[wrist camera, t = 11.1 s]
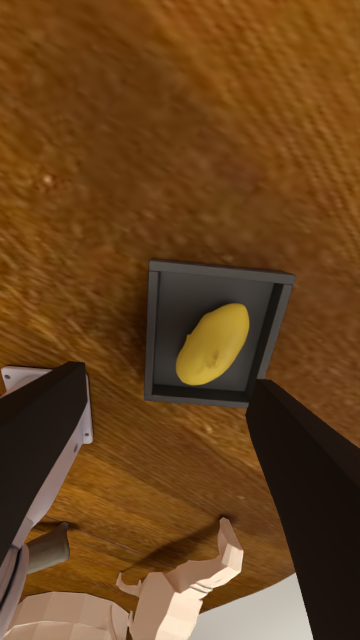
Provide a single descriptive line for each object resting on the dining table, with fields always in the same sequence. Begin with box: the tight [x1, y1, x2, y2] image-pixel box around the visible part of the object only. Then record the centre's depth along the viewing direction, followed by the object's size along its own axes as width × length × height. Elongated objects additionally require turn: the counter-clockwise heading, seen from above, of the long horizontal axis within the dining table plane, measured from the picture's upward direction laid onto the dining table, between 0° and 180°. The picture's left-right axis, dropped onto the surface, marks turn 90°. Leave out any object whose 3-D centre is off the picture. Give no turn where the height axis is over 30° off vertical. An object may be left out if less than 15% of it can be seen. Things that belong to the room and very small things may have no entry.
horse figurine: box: [105, 517, 243, 640], centre depth 28 cm, size 5×16×25 cm
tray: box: [144, 258, 296, 408], centre depth 17 cm, size 12×10×2 cm
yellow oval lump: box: [176, 303, 249, 385], centre depth 15 cm, size 4×8×4 cm, turn 144°
